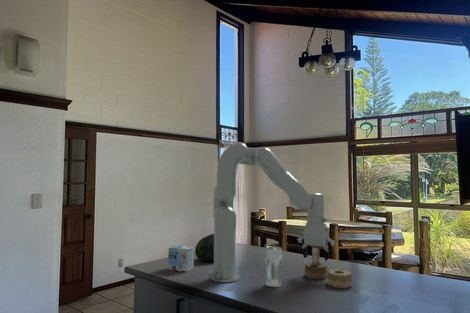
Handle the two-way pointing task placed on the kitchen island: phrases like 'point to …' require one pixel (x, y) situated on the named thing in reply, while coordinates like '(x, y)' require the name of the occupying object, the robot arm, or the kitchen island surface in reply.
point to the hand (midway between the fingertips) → (315, 258)
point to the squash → (205, 248)
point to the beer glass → (273, 265)
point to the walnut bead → (316, 271)
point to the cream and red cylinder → (315, 255)
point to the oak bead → (339, 278)
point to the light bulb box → (181, 258)
